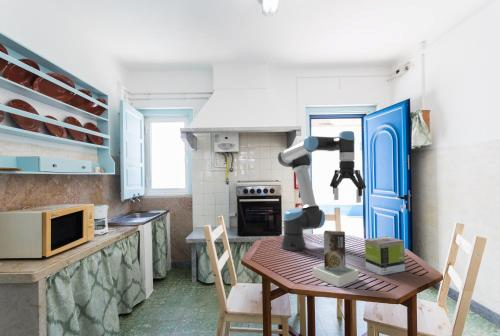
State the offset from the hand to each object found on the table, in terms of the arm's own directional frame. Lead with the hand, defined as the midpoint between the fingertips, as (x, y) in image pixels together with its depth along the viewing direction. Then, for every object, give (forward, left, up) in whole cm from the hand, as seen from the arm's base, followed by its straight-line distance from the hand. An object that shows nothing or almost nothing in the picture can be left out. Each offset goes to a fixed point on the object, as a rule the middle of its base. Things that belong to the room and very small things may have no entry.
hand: (347, 201), depth 144 cm
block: (+10, -23, -32) cm, 40 cm away
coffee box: (+10, -23, -28) cm, 37 cm away
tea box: (+18, +4, -32) cm, 37 cm away
